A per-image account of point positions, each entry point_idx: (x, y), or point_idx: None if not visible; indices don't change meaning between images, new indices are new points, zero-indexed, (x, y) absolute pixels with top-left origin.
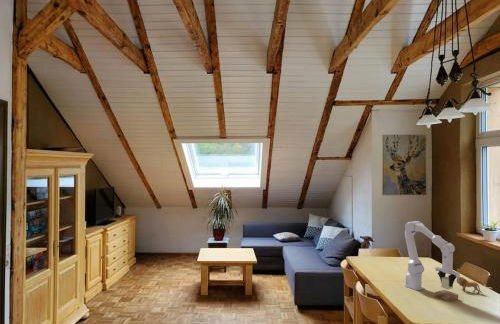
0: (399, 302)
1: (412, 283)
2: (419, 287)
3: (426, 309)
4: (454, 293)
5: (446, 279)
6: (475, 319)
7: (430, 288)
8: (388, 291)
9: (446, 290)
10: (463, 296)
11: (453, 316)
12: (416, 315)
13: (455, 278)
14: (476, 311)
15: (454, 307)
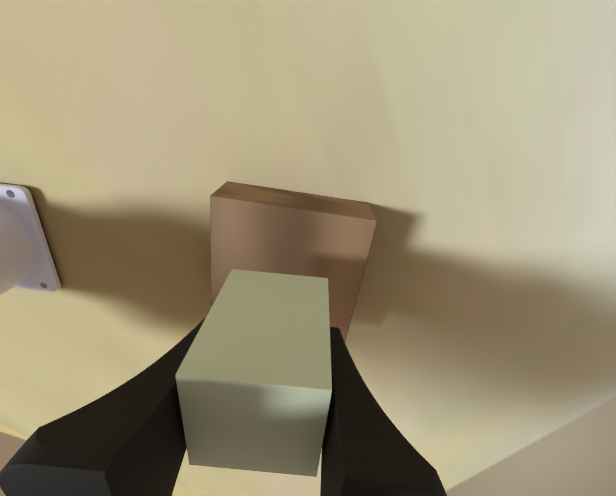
0: (192, 485)
1: None
2: (28, 259)
3: (317, 474)
4: (337, 226)
5: (278, 464)
6: (552, 431)
7: (35, 120)
8: (35, 421)
9: (236, 204)
10: (371, 48)
11: (446, 463)
12: None
13: (400, 437)
14: (549, 332)
15: (409, 371)
